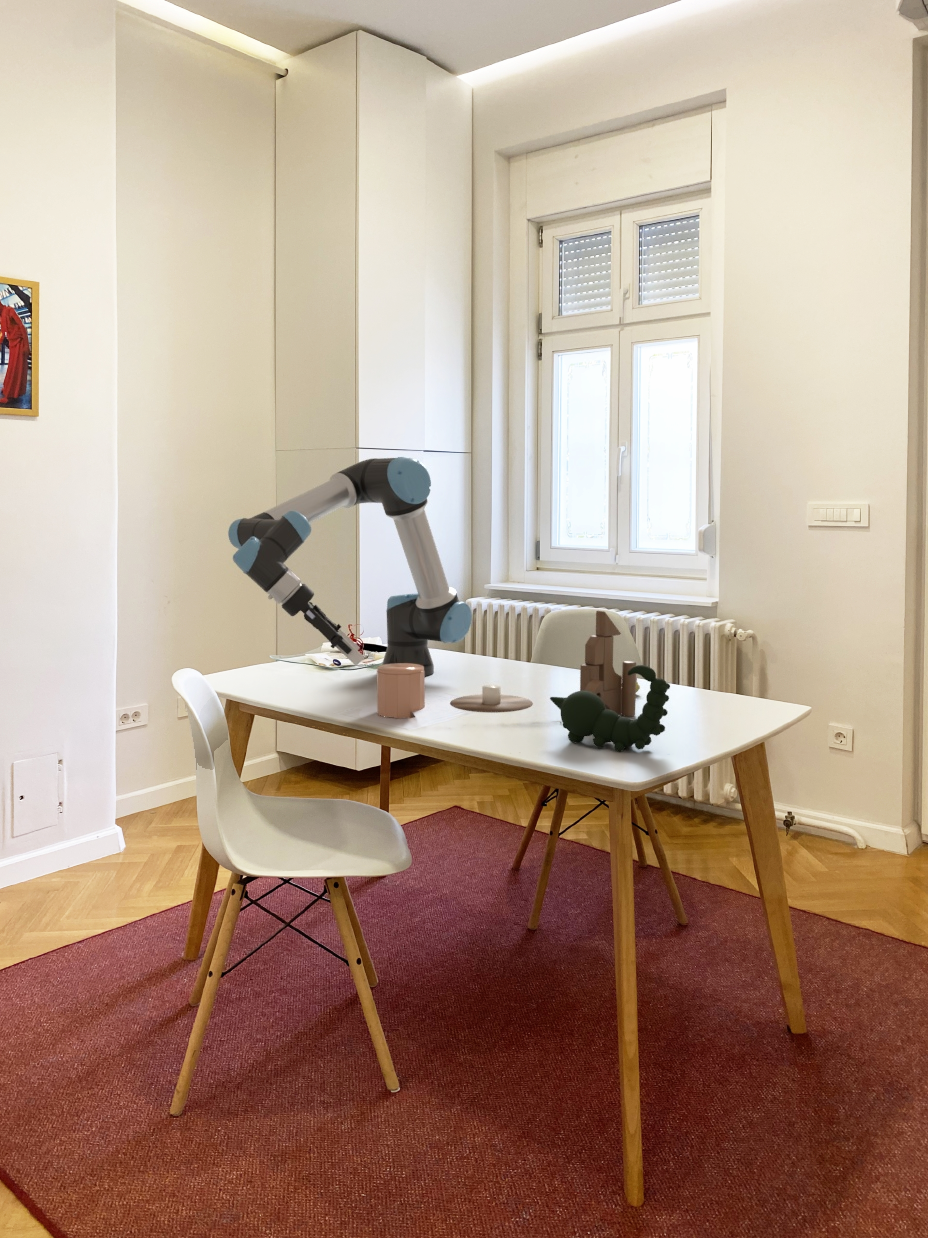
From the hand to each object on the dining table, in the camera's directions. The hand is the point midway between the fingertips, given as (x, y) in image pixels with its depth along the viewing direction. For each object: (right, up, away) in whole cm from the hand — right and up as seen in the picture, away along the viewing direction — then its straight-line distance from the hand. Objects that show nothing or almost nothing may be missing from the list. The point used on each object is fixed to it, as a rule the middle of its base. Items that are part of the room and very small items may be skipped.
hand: (358, 656), depth 224 cm
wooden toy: (+58, -14, -1) cm, 59 cm away
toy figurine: (+54, -18, -26) cm, 63 cm away
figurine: (+66, -12, +20) cm, 70 cm away
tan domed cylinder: (+10, -14, +4) cm, 17 cm away
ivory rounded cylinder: (+31, -11, +8) cm, 34 cm away
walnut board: (+31, -13, +8) cm, 35 cm away
